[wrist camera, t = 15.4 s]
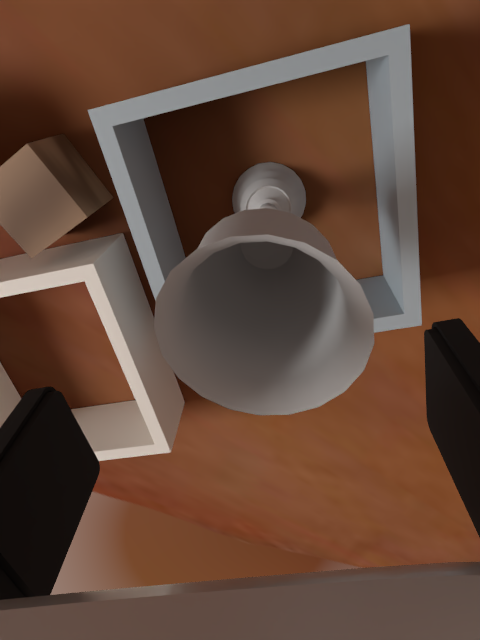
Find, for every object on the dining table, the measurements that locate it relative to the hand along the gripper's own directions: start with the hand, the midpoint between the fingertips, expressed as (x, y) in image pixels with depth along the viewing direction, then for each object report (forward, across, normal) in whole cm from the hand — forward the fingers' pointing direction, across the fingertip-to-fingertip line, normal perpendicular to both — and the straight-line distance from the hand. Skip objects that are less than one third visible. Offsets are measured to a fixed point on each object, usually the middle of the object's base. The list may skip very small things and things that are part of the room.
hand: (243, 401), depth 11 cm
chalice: (+22, -1, +1) cm, 22 cm away
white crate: (+22, +18, +9) cm, 30 cm away
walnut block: (+22, +13, -3) cm, 26 cm away
